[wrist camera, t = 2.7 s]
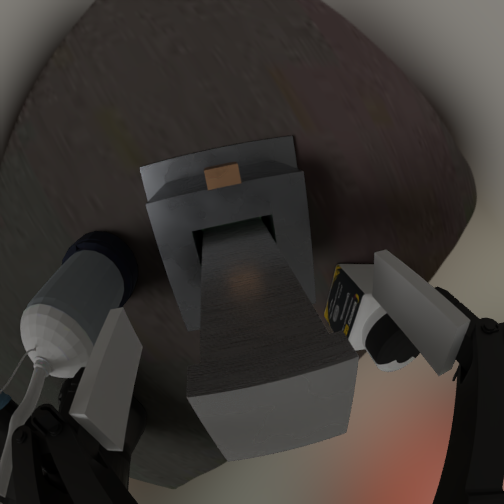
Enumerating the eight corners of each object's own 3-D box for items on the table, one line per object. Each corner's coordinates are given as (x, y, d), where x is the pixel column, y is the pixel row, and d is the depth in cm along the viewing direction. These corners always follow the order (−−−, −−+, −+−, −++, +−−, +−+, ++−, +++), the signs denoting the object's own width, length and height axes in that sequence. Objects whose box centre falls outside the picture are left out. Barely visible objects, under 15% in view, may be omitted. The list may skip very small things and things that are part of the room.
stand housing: (179, 296, 29) (171, 357, 21) (141, 166, 23) (106, 183, 15) (306, 268, 30) (341, 318, 22) (290, 135, 24) (331, 136, 16)
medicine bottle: (335, 262, 30) (392, 326, 20) (385, 263, 32) (446, 317, 21) (322, 315, 33) (363, 386, 22) (370, 311, 34) (417, 372, 23)
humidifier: (94, 308, 28) (20, 509, 6) (59, 248, 25) (-80, 431, 2) (151, 287, 28) (102, 538, 6) (116, 218, 25) (-47, 453, 2)
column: (211, 247, 28) (227, 461, 8) (201, 202, 26) (186, 397, 6) (257, 237, 28) (346, 432, 9) (249, 192, 26) (359, 356, 7)
